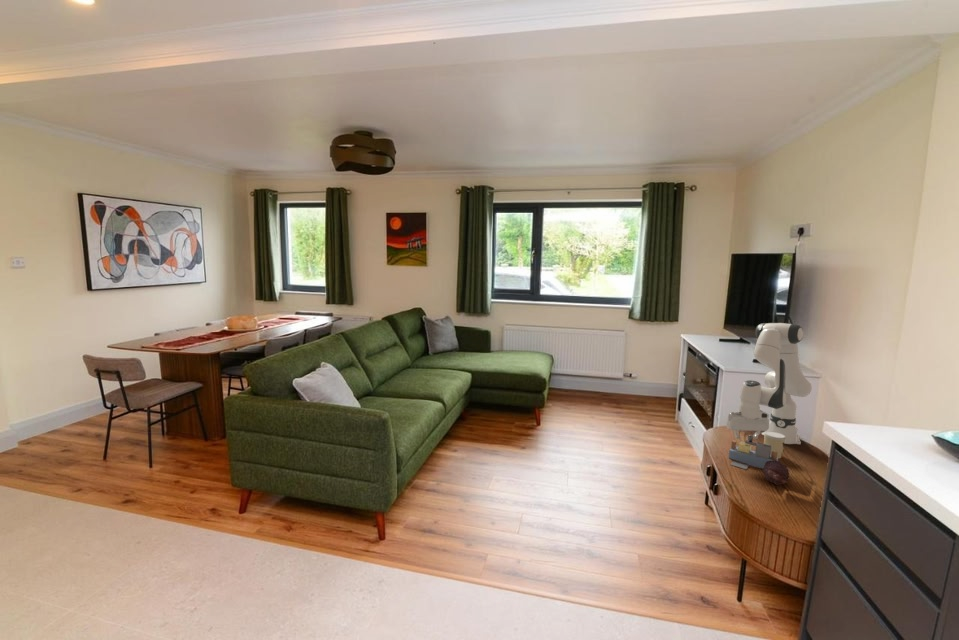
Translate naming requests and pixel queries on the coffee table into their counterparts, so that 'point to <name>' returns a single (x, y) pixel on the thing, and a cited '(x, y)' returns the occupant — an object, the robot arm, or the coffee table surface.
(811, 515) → the coffee table surface
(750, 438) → the ball-knob lever
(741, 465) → the mat
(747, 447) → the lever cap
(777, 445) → the coffee cup
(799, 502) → the coffee table surface
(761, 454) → the plane body
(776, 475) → the pine cone
